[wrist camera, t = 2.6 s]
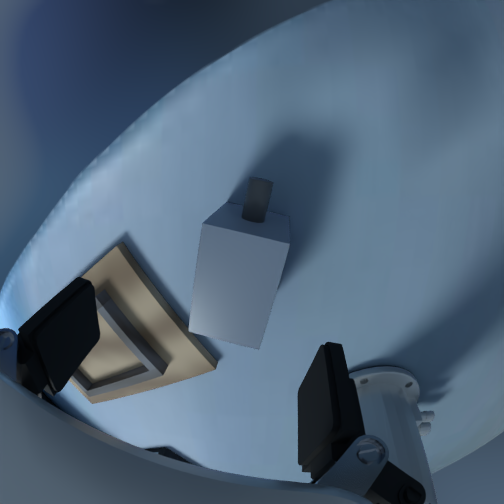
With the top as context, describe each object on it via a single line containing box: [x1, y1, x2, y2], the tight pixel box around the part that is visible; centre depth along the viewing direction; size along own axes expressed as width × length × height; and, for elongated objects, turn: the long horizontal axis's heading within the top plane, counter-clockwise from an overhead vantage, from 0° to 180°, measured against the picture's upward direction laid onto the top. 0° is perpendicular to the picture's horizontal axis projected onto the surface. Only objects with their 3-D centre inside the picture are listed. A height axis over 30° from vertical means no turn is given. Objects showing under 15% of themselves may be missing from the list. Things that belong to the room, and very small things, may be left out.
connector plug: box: [188, 177, 290, 350], centre depth 18 cm, size 4×11×6 cm, turn 168°
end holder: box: [69, 242, 218, 404], centre depth 25 cm, size 14×24×2 cm, turn 123°
